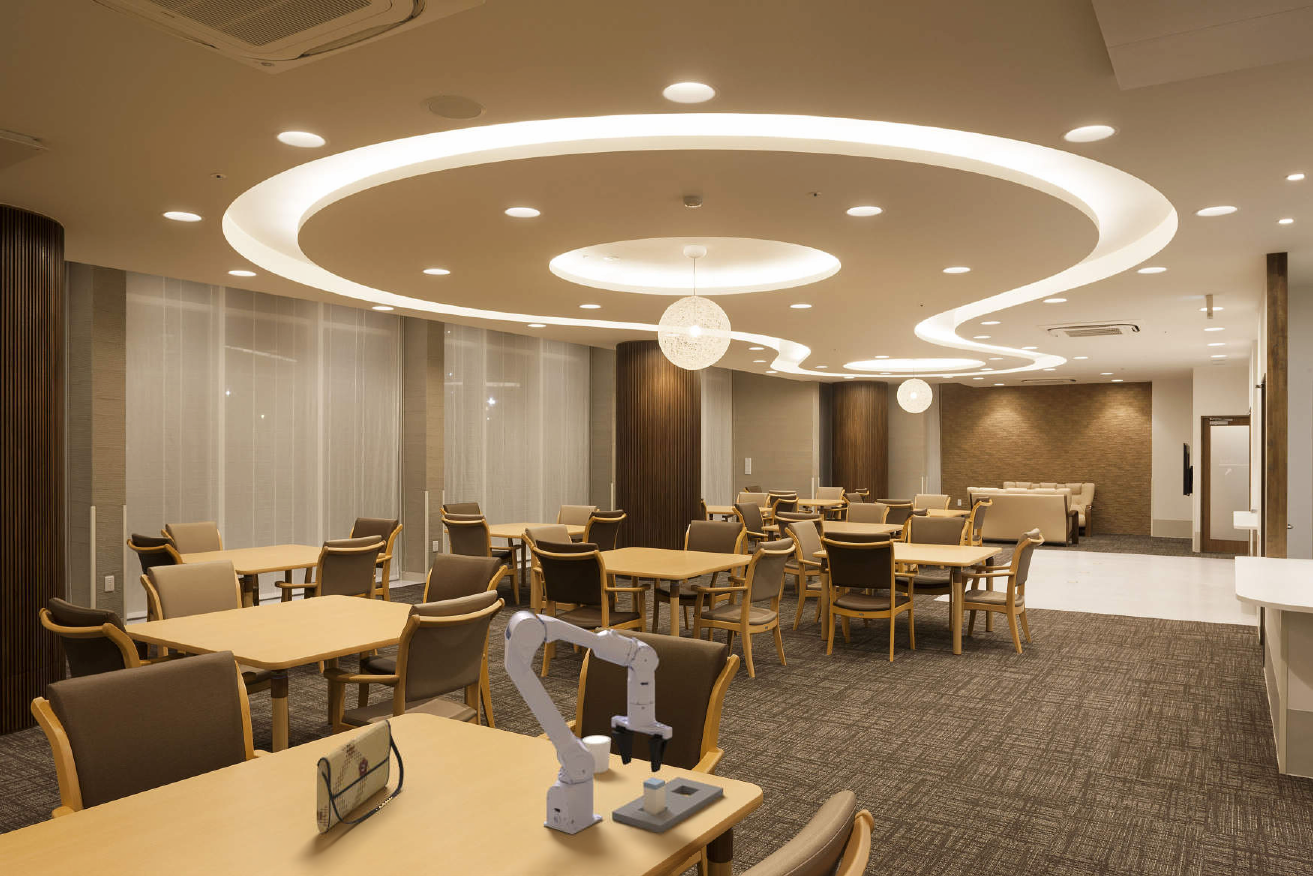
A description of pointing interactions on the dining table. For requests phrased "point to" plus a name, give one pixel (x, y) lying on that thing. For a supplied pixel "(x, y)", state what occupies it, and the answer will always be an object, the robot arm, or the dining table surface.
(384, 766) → the clutch purse
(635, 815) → the socket board
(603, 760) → the white round cup
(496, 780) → the dining table surface
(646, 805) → the plug
